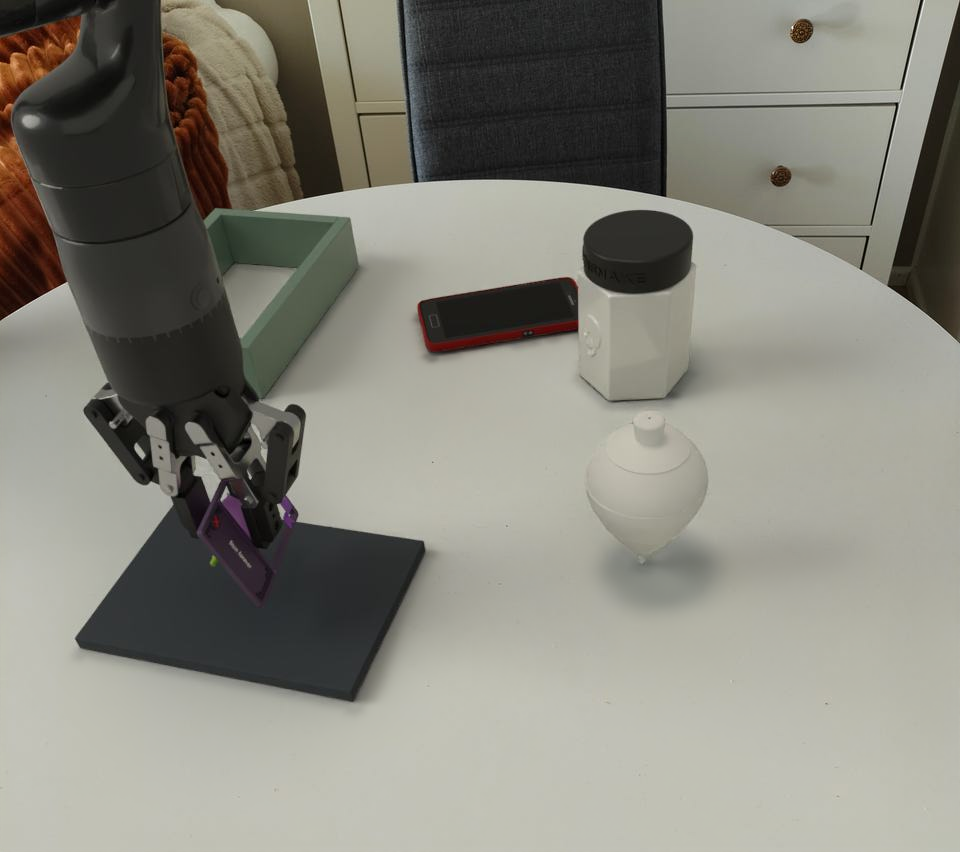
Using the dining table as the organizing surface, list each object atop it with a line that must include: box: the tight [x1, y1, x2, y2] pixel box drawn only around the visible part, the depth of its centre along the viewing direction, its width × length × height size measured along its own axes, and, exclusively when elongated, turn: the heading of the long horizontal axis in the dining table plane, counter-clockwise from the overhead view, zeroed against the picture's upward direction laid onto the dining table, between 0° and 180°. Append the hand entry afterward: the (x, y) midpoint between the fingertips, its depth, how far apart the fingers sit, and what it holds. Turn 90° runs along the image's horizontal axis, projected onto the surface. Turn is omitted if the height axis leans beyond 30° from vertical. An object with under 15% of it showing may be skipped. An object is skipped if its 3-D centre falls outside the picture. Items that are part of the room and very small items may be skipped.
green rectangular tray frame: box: [203, 207, 360, 400], centre depth 94 cm, size 14×22×5 cm, turn 163°
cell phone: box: [416, 276, 578, 353], centre depth 92 cm, size 8×15×1 cm, turn 100°
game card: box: [197, 471, 299, 608], centre depth 66 cm, size 7×5×9 cm
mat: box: [74, 503, 426, 702], centre depth 71 cm, size 20×14×1 cm
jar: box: [577, 209, 697, 402], centre depth 81 cm, size 9×8×12 cm
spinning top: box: [584, 409, 709, 565], centre depth 66 cm, size 8×8×12 cm
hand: (234, 534), depth 67 cm, fingers closed on game card, 4 cm apart
